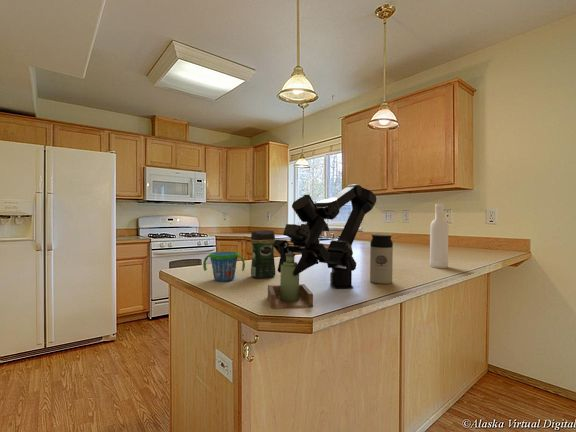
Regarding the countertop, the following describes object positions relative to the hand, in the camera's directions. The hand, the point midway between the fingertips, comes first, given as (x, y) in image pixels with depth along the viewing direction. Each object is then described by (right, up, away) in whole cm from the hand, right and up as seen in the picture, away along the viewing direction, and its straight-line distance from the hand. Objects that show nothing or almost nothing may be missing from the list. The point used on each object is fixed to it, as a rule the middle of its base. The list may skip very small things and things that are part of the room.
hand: (286, 273), depth 89 cm
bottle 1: (+1, -8, +1) cm, 8 cm away
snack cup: (-24, -8, +30) cm, 39 cm away
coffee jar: (-10, -8, +36) cm, 38 cm away
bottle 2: (+73, -8, +61) cm, 95 cm away
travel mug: (+35, -8, +28) cm, 46 cm away
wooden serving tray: (+1, -8, +1) cm, 9 cm away
